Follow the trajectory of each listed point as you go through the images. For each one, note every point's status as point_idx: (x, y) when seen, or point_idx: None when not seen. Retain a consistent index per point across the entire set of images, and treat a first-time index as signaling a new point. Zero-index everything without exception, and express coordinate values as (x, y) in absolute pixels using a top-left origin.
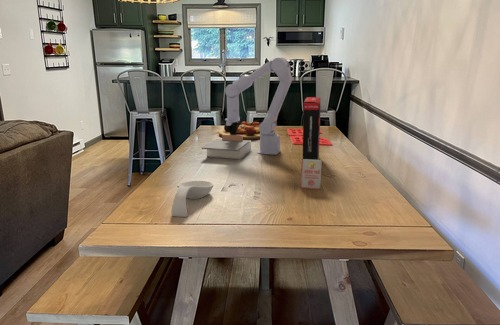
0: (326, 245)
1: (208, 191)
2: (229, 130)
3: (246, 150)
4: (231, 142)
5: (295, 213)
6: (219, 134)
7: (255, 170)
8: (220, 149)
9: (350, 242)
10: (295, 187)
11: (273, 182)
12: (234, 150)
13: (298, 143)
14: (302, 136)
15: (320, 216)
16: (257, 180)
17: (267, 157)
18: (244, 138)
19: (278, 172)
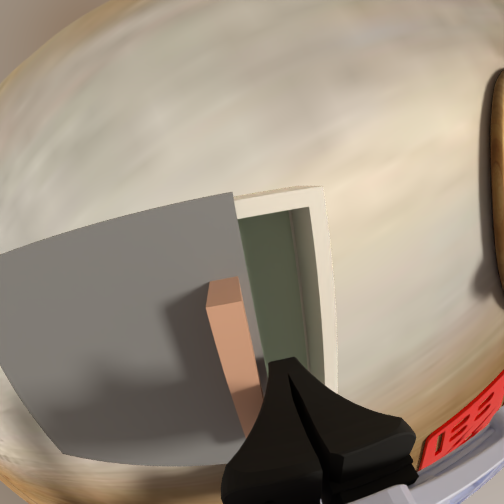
0: (9, 487)
1: None
2: (258, 419)
3: None
4: (163, 399)
5: (17, 483)
6: (501, 75)
7: (68, 462)
8: (13, 382)
9: (25, 500)
10: (67, 500)
11: (52, 482)
12: (55, 441)
13: (426, 447)
14: (501, 393)
15: (34, 498)
16: (34, 463)
17: (212, 474)
18: (497, 240)
19: (102, 494)
